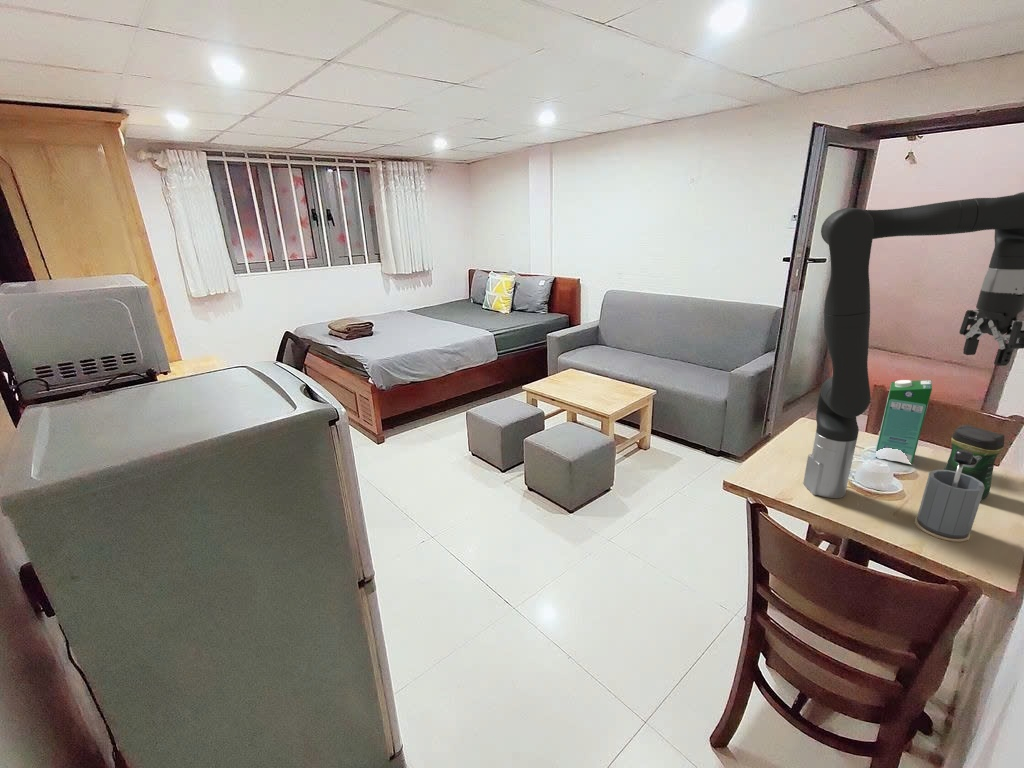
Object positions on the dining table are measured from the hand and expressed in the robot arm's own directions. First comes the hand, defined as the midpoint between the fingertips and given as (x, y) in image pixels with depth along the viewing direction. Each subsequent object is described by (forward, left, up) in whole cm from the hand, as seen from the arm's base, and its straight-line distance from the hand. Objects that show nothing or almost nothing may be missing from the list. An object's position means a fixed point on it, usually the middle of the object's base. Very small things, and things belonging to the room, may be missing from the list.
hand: (984, 359), depth 107 cm
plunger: (-6, -9, -39) cm, 40 cm away
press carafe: (-6, -9, -40) cm, 42 cm away
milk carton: (+6, +28, -40) cm, 49 cm away
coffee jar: (+11, +8, -40) cm, 43 cm away
